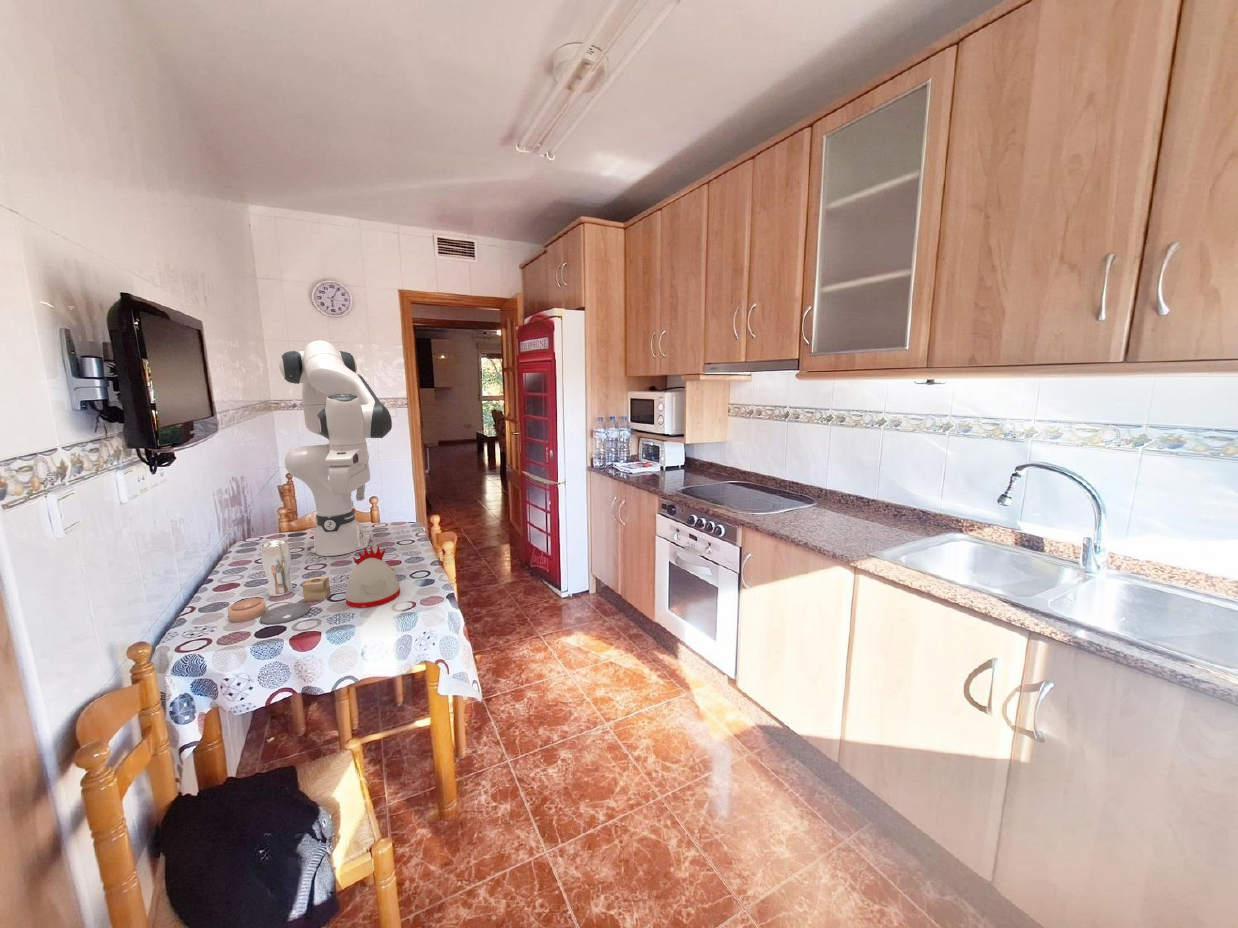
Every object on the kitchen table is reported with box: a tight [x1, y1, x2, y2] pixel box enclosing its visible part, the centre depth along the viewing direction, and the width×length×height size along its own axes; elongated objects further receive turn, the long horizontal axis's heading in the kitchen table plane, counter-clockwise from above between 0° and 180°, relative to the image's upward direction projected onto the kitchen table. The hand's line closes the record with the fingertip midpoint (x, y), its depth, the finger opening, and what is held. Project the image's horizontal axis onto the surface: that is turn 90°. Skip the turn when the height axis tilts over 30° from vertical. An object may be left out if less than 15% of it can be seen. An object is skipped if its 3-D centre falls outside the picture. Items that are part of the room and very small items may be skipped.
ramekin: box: [227, 597, 268, 623], centre depth 130 cm, size 8×8×4 cm
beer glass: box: [260, 539, 294, 597], centre depth 143 cm, size 7×7×15 cm
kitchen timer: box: [345, 545, 401, 609], centre depth 139 cm, size 14×14×15 cm
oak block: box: [302, 576, 331, 602], centre depth 141 cm, size 5×5×5 cm
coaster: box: [260, 602, 312, 625], centre depth 130 cm, size 11×11×1 cm
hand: (355, 504), depth 135 cm, fingers open, 8 cm apart
